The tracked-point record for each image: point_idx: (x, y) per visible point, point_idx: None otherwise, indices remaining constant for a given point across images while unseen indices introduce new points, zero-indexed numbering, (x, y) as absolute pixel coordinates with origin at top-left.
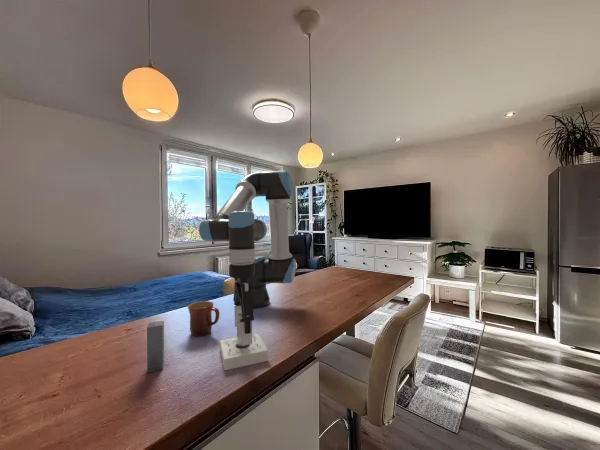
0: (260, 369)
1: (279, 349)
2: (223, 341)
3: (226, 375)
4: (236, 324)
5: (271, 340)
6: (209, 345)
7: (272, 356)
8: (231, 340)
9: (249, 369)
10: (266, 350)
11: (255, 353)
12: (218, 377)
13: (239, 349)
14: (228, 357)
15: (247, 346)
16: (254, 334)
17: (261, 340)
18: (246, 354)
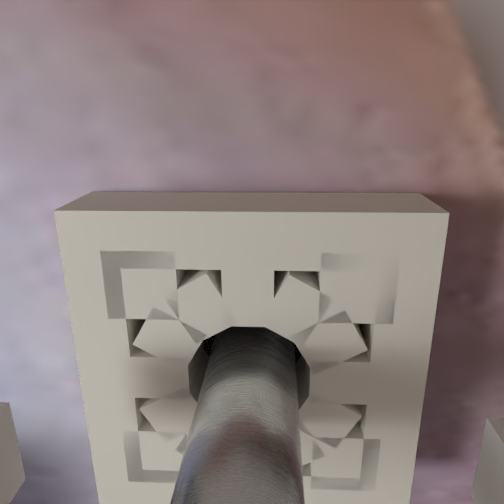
0: (499, 271)
1: (284, 40)
2: (124, 488)
3: (443, 454)
4: (6, 487)
5: (80, 61)
6: (34, 493)
7: (372, 139)
8: (127, 440)
9: (456, 334)
10: (447, 226)
11: (431, 318)
12: (439, 489)
13: (311, 415)
14: (394, 493)
15: (280, 350)
16: (64, 248)
17: (226, 218)
18: (422, 386)
